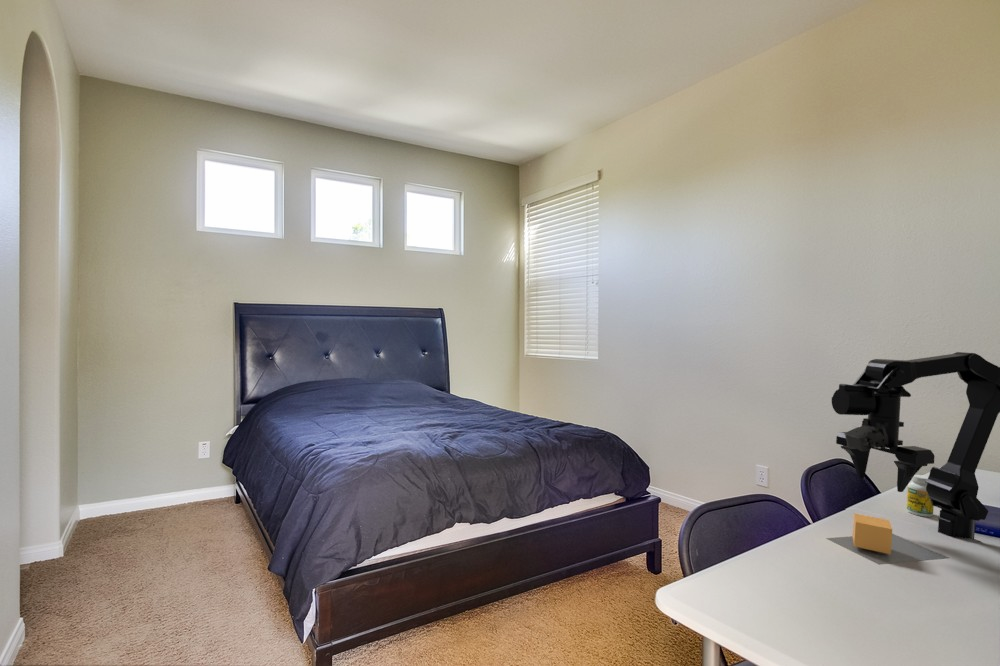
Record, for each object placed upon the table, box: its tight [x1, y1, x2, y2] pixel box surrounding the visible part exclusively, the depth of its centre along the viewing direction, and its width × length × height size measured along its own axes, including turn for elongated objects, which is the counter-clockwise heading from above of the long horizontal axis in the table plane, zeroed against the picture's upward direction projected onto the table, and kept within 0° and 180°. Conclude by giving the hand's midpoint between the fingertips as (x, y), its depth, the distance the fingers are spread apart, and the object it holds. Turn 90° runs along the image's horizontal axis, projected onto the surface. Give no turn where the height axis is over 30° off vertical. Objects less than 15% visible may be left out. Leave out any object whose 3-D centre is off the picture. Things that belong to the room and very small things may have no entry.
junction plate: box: [825, 533, 950, 565], centre depth 109 cm, size 18×12×2 cm, turn 104°
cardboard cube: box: [852, 513, 893, 554], centre depth 108 cm, size 6×6×5 cm
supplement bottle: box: [906, 474, 935, 518], centre depth 135 cm, size 5×5×10 cm
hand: (879, 485), depth 118 cm, fingers open, 9 cm apart
